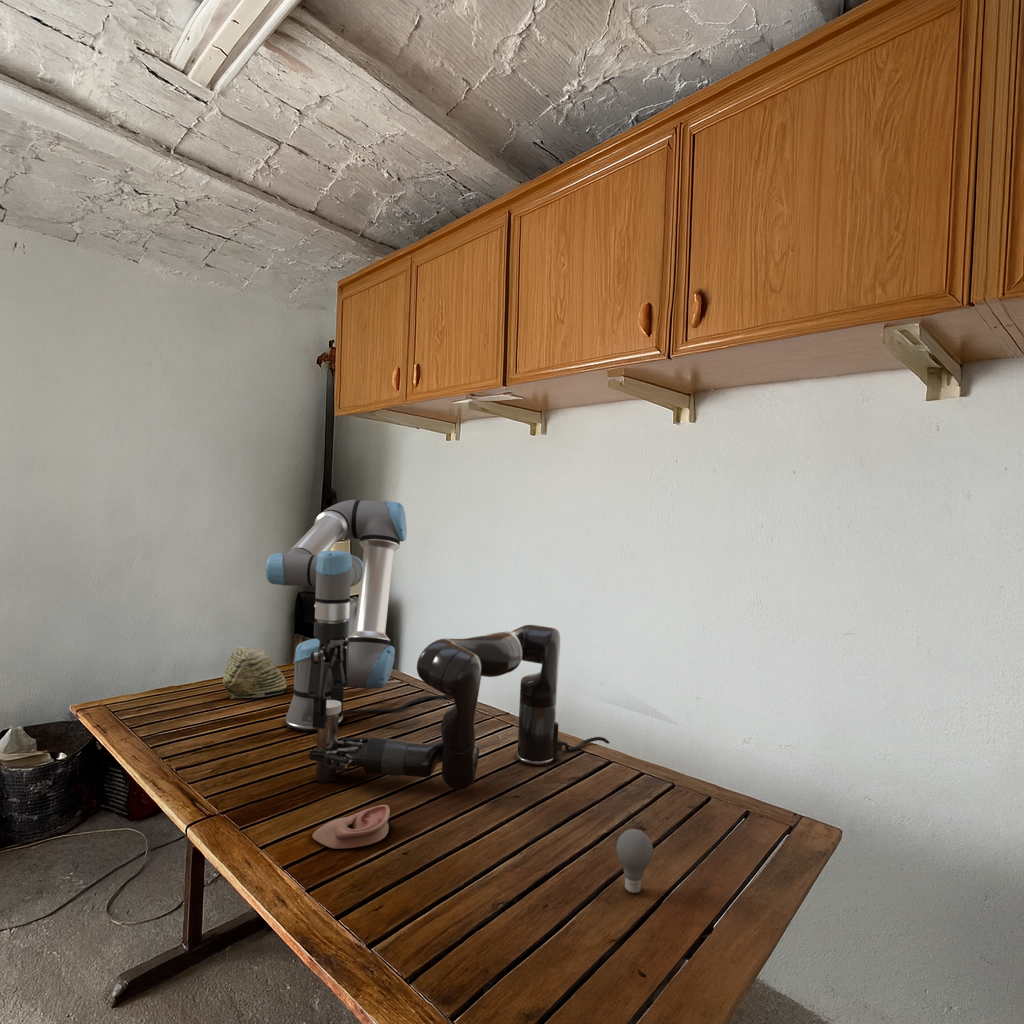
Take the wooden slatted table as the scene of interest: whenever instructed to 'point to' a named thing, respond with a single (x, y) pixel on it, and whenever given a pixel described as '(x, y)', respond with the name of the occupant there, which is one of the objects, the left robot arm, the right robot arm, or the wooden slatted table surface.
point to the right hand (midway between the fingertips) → (315, 750)
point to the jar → (327, 747)
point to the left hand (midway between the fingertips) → (328, 721)
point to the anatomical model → (355, 829)
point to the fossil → (252, 674)
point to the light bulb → (634, 857)
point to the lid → (333, 707)
